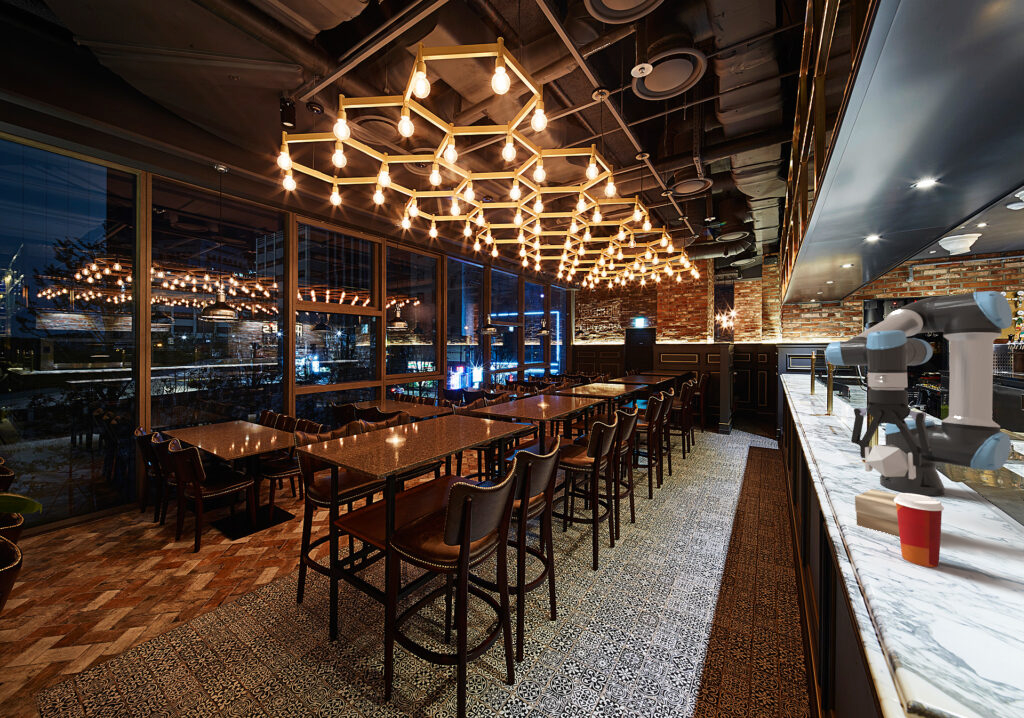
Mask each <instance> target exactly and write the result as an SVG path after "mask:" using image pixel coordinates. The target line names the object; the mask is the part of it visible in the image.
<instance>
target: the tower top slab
mask: <svg viewBox="0 0 1024 718" xmlns="http://www.w3.org/2000/svg"><path fill="white" fill-rule="evenodd" d="M897 494H898V493H892V492H888V491H882V490H878V489H873V488H872V489H870V490H867V491H864V492H863V493H861V494H860V493H859V494H858V495H856V496H855V497H854V502H855V503H854V504H855V505H854V508H855V509H854V510H855V512H860V513H864V514H867V515H871V516H875V517H879V518H882V519H886V520H890V521H894V522H898V517H897V508H896V503H895V502H894V499H895V498H896V496H897Z"/></svg>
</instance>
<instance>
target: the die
mask: <svg viewBox="0 0 1024 718" xmlns="http://www.w3.org/2000/svg"><path fill="white" fill-rule="evenodd" d="M866 463H867V464H869V465H870V466H871V467H873V469H874V470H876V472H878V473H879V474H880V475H881V474H882V475H884V476H885V477H898V476H905V474H906V472H907V471H908V467H909V466H908V455H907V454H906V453H905V452H903V451H902V450H901V449H899V448H897V447H896V446H894V445H886V444H874V445H873V446H872V450H871V452H870V454H869V456H868V458H867V460H866Z"/></svg>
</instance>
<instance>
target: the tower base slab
mask: <svg viewBox="0 0 1024 718" xmlns="http://www.w3.org/2000/svg"><path fill="white" fill-rule="evenodd" d="M855 512H856V511H855ZM855 514H856V526H857V525H858V527H861V526H862V528H864V529H868V528H869V530H872V529H873V530H872V531H876V530H877V531H876V532H879V531H881V532H880V533H883V532H885V533H884V534H887V533H888V534H887V535H890V534H891V536H894V535H895V536H894V537H897V538H900V535H899V526H898V522H894V521H890V520H886V519H882V518H879V517H875V516H871V515H867V514H864V513H860V512H856V513H855Z"/></svg>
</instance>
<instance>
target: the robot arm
mask: <svg viewBox="0 0 1024 718" xmlns="http://www.w3.org/2000/svg"><path fill="white" fill-rule="evenodd" d="M1012 322H1013V312H1012V308H1011V306H1010V303H1009V301H1008V299H1007V298H1006V297H1005V295H1004V294H1003V293H1001V292H999V291H995V290H987V291H985V290H984V291H973V292H968V293H967V292H966V293H958V294H951V295H944V296H943V295H942V296H934V297H927V298H924V299H920V300H917V301H914V302H911V303H909V304H906V305H904V306H902V307H899V308H897V309H895V310H893V311H892V312H890V313H889V314H888V315H887V316H886V318H885V319H884V320H882V321H879V323H877V324H874V325H873V326H872V327H870V328H867V329H866V330H864V331H863V332H861V333H858V335H855V336H854V337H852V338H850V339H848V340H846V341H844V340H843V341H841V340H839V341H832V342H830V343H829V344H828V345H827V347H826V350H825V357H826V360H827V362H828V363H829V364H830V365H833V366H843V367H846V366H847V367H850V366H851V367H852V366H855V367H856V366H857V367H858V366H867V386H868V387H869V389H868V390H867V392H868V393H867V394H868V395H867V396H868V405H867V406H866V407H862V408H861V407H857V408H854V409H853V414H854V416H855V417H854V423H853V427H852V434H851V440H850V441H851V443H853V444H856V445H858V446H859V447H860V450H859V452H860V457H861V459H864V460H865V461H864V462H865V464H864V465H865V472H868V473H870V472H872V471H873V469H874V468H873V467H871V466H870V465H869V464H867V463H866V460H867V458H868V456H869V454H870V452H871V450H872V448H873V446H870V442H871V440H872V438H873V437H874V435H875V433H876V431H877V429H878V427H879V426H880V425H881V424H885V432H884V435H885V436H884V440H885V441H884V442H885V445H894V446H896V447H897V448H899V449H901V450H902V451H903V452H905V453H906V454H907V455H908V466H909V467H908V471H907V472H906V474H905V476H898V477H885V476H884V475H882V474H881V473H880V477H879V484H880V485H881V486H883V488H886V489H890V490H893V491H897V492H900V493H910V494H918V495H923V496H929V497H930V496H943V495H945V486H944V483H943V481H942V480H941V478H940V475H939V473H938V471H937V468H936V467H937V466H936V463H940V464H945V465H946V464H947V465H952V466H958V467H963V468H970V469H972V470H983V471H991V472H992V471H997V470H999V469H1001V468H1002V467H1003V466H1004V465H1005V463H1007V461H1008V458H1009V455H1010V452H1011V447H1012V442H1011V438H1010V435H1009V434H1008V433H1006V432H1003V431H1001V425H999V424H998V423H996V421H994V420H993V387H994V385H993V382H994V381H993V377H994V373H993V372H994V342H995V340H996V339H998V338H1000V337H1001V336H1002V335H1003V333H1002V330H1006V329H1009V328H1010V327H1011V326H1012V324H1013V323H1012ZM942 332H943V335H942V336H943V338H945V339H946V340H947V341H949V345H950V347H949V348H950V349H949V391H948V392H949V393H948V398H949V399H948V416H947V417H946V418H944V419H942V420H941V425H936V423H935V422H934V421H933V420H927V419H926V417H927V413H926V412H924V411H921V412H920V411H919V412H918V411H914V410H911V409H910V407H909V393H908V392H909V391H908V390H907V388H908V387H909V386H908V367H910V366H911V367H914V366H915V367H916V366H918V365H922V364H925V363H927V362H928V361H929V360H930V359H931V358H932V356H933V352H934V351H933V347H932V345H931V344H930V343H929V342H927V341H926V340H924V339H919V338H916V337H912V336H915V335H918V334H923V333H942ZM908 337H909V338H908ZM910 337H911V338H910ZM867 413H868V414H869V415H870V417H872V420H871V421H870V424H869V426H868V428H867V429H866V431H865V433H864V435H863V437H862V439H861V436H862V430H863V425H864V419H865V416H866V415H867ZM909 416H910V417H911V418H912V419H907V418H908V417H909Z"/></svg>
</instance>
